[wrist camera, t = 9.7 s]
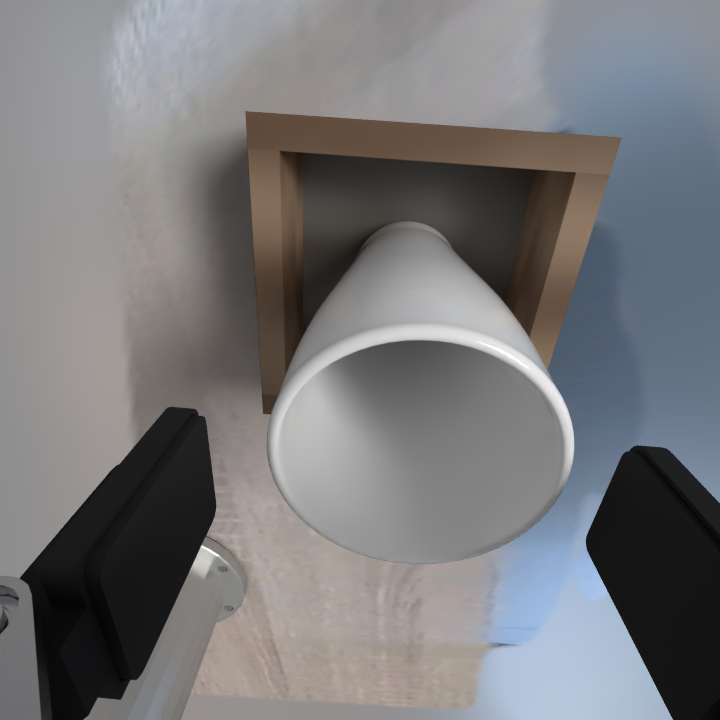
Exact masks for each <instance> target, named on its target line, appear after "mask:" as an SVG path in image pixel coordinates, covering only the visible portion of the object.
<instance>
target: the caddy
mask: <svg viewBox="0 0 720 720" xmlns="http://www.w3.org/2000/svg"><path fill="white" fill-rule="evenodd" d="M246 128H247V145H248V162H249V179H250V196H251V213H252V230H253V247H254V264H255V281H256V298H257V315H258V332H259V349H260V366H261V383H262V400H263V414H271V413H272V410H273V407H274V405H275V403H276V400H277V397H278V394H279V391H280V388H281V386H282V383H283V380H284V378H285V375H286V372H287V370H288V367H289V365H290V363H291V360H292V358H293V356H294V353H295V351H296V349H297V347H298V344H299V342H300V340H301V338H302V336H303V334H304V332H305V331H306V329H307V327H308V325H309V323H310V322H311V320H312V318H313V316H314V315H315V313H316V312H317V310H318V309H319V307H320V306H321V304H322V303H323V302H324V300H325V299H326V297H327V296H328V295H329V293H330V292H331V290H332V289H333V288H334V287H335V285H336V284H337V283H338V281H339V280H340V279H341V277H342V276H343V275H344V274H345V272H346V271H347V270H348V268H349V267H350V266H351V264H352V263H353V262H354V260H355V259H356V257H357V254H358V252H359V250H360V248H361V247H362V245H363V244H364V242H365V241H366V240H367V239H368V238H369V237H370V236H371V235H372V234H373V233H374V232H376V231H377V230H379V229H380V228H382V227H384V226H386V225H389V224H392V223H395V222H401V221H413V222H419V223H423V224H426V225H428V226H430V227H432V228H434V229H436V230H437V231H438V232H440V233H441V234H442V235H443V236H444V237H445V238H446V239H447V240H448V242H449V243H450V245H451V246H452V248H453V250H454V251H455V252H456V253H457V254H458V255H459V256H460V257H461V258H462V259H463V260H464V261H465V262H466V263H467V264H468V265H469V266H470V267H471V268H472V269H473V270H474V271H475V272H476V273H477V274H478V275H479V276H480V277H481V278H482V279H483V280H484V281H485V282H486V283H487V284H488V285H489V286H490V287H491V288H492V289H493V290H494V291H495V292H496V293H497V294H498V296H499V297H500V298H501V299H502V300H503V301H504V303H505V304H506V305H507V306H508V308H509V309H510V310H511V311H512V313H513V314H514V315H515V317H516V318H517V320H518V321H519V322H520V324H521V325H522V327H523V328H524V330H525V332H526V333H527V335H528V336H529V338H530V339H531V341H532V343H533V344H534V346H535V348H536V349H537V351H538V353H539V354H540V356H541V358H542V360H543V362H544V364H545V366H546V368H547V369H548V367H549V364H550V360H551V357H552V354H553V351H554V348H555V345H556V342H557V338H558V335H559V332H560V329H561V326H562V323H563V320H564V316H565V313H566V310H567V307H568V304H569V301H570V298H571V294H572V291H573V288H574V285H575V282H576V279H577V276H578V273H579V269H580V266H581V263H582V260H583V257H584V254H585V251H586V247H587V244H588V241H589V238H590V235H591V232H592V229H593V225H594V222H595V219H596V216H597V213H598V210H599V207H600V203H601V200H602V197H603V194H604V191H605V188H606V185H607V182H608V178H609V175H610V172H611V169H612V166H613V162H614V159H615V156H616V153H617V150H618V147H619V144H620V140H621V138H619V137H604V136H590V135H576V134H562V133H547V132H533V131H519V130H505V129H490V128H476V127H462V126H447V125H433V124H419V123H405V122H390V121H376V120H362V119H347V118H333V117H319V116H305V115H290V114H276V113H262V112H247V111H246Z"/></svg>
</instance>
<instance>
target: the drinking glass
mask: <svg viewBox="0 0 720 720" xmlns="http://www.w3.org/2000/svg"><path fill="white" fill-rule="evenodd" d="M267 455H268V462H269V466H270V470H271V473H272V476H273V479H274V481H275V483H276V485H277V488H278V490H279V492H280V493H281V495H282V496H283V498H284V500H285V501H286V502H287V504H288V505H289V506H290V508H291V509H292V510H293V511H294V512H295V513H296V514H297V516H298V517H299V518H300V519H301V520H303V521H304V522H305V523H306V524H307V525H308V526H309V527H311V528H312V529H313V530H315V531H316V532H317V533H319V534H320V535H322V536H323V537H325V538H326V539H328V540H330V541H332V542H333V543H335V544H337V545H339V546H341V547H343V548H346V549H348V550H350V551H353V552H356V553H358V554H361V555H365V556H368V557H371V558H375V559H380V560H384V561H391V562H397V563H408V564H435V563H445V562H452V561H458V560H463V559H467V558H471V557H475V556H478V555H481V554H484V553H487V552H489V551H492V550H495V549H497V548H499V547H501V546H503V545H505V544H507V543H509V542H511V541H513V540H514V539H516V538H518V537H519V536H521V535H522V534H524V533H525V532H526V531H528V530H529V529H530V528H532V527H533V526H534V525H535V524H536V523H538V522H539V521H540V520H541V519H542V518H543V517H544V516H545V515H546V514H547V512H548V511H549V510H550V509H551V507H552V506H553V505H554V504H555V502H556V501H557V499H558V498H559V496H560V494H561V493H562V491H563V489H564V487H565V485H566V483H567V480H568V477H569V474H570V471H571V467H572V462H573V456H574V433H573V427H572V422H571V418H570V415H569V412H568V409H567V406H566V404H565V402H564V400H563V398H562V396H561V394H560V393H559V391H558V389H557V387H556V385H555V383H554V381H553V379H552V377H551V375H550V373H549V371H548V369H547V368H546V366H545V364H544V362H543V360H542V358H541V356H540V354H539V353H538V351H537V349H536V348H535V346H534V344H533V343H532V341H531V339H530V338H529V336H528V335H527V333H526V332H525V330H524V328H523V327H522V325H521V324H520V322H519V321H518V320H517V318H516V317H515V315H514V314H513V313H512V311H511V310H510V309H509V308H508V306H507V305H506V304H505V303H504V301H503V300H502V299H501V298H500V297H499V296H498V294H497V293H496V292H495V291H494V290H493V289H492V288H491V287H490V286H489V285H488V284H487V283H486V282H485V281H484V280H483V279H482V278H481V277H480V276H479V275H478V274H477V273H476V272H475V271H474V270H473V269H472V268H471V267H470V266H469V265H468V264H467V263H466V262H465V261H464V260H463V259H462V258H461V257H460V256H459V255H458V254H457V253H456V252H455V251H454V250H453V248H452V246H451V245H450V243H449V242H448V240H447V239H446V238H445V237H444V236H443V235H442V234H441V233H440V232H438V231H437V230H436V229H434V228H432V227H430V226H428V225H426V224H423V223H419V222H413V221H401V222H395V223H392V224H389V225H386V226H384V227H382V228H380V229H379V230H377V231H376V232H374V233H373V234H372V235H371V236H370V237H369V238H368V239H367V240H366V241H365V242H364V244H363V245H362V247H361V248H360V250H359V252H358V254H357V257H356V259H355V260H354V262H353V263H352V264H351V266H350V267H349V268H348V270H347V271H346V272H345V274H344V275H343V276H342V277H341V279H340V280H339V281H338V283H337V284H336V285H335V287H334V288H333V289H332V290H331V292H330V293H329V295H328V296H327V297H326V299H325V300H324V302H323V303H322V304H321V306H320V307H319V309H318V310H317V312H316V313H315V315H314V316H313V318H312V320H311V322H310V323H309V325H308V327H307V329H306V331H305V332H304V334H303V336H302V338H301V340H300V342H299V344H298V347H297V349H296V351H295V353H294V356H293V358H292V360H291V363H290V365H289V367H288V370H287V372H286V375H285V378H284V380H283V383H282V386H281V388H280V391H279V394H278V397H277V400H276V403H275V405H274V407H273V410H272V413H271V416H270V420H269V424H268V431H267Z"/></svg>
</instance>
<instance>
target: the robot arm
mask: <svg viewBox="0 0 720 720" xmlns="http://www.w3.org/2000/svg"><path fill="white" fill-rule="evenodd" d="M215 512H216V498H215V490H214V482H213V474H212V466H211V458H210V450H209V442H208V434H207V426H206V420H205V417H203V416H199V415H198V412H197V410H195V409H189V408H177V407H169V408H167V409H166V410H165V411H164V412H163V413H162V414H161V416H160V417H159V418H158V419H157V420H156V422H155V423H154V424H153V425H152V426H151V427H150V429H149V430H148V431H147V432H146V433H145V435H144V436H143V437H142V438H141V439H140V441H139V442H138V443H137V444H136V445H135V447H134V448H133V449H132V450H131V451H130V453H129V454H128V455H127V456H126V457H125V458H124V460H123V461H122V462H121V463H120V464H119V465H117V466H116V467H115V468H113V469H112V470H111V471H110V473H109V474H108V475H107V476H106V477H105V479H104V480H103V481H102V482H101V483H100V484H99V486H98V487H97V488H96V489H95V490H94V491H93V492H92V494H91V495H90V496H89V497H88V498H87V500H86V501H85V502H84V503H83V504H82V506H81V507H80V508H79V509H78V510H77V512H76V513H75V514H74V515H73V516H72V517H71V518H70V520H69V521H68V522H67V523H66V524H65V525H64V527H63V528H62V529H61V530H60V531H59V533H58V534H57V535H56V536H55V537H54V538H53V540H52V541H51V542H50V543H49V544H48V545H47V547H46V548H45V549H44V550H43V551H42V552H41V554H40V555H39V556H38V557H37V558H36V560H35V561H34V562H33V563H32V564H31V565H30V567H29V568H28V569H27V570H26V571H25V572H24V574H23V575H22V576H21V577H20V578H14V577H10V576H0V720H181V718H182V715H183V712H184V710H185V707H186V704H187V701H188V699H189V696H190V693H191V690H192V688H193V685H194V682H195V679H196V677H197V674H198V671H199V668H200V665H201V663H202V660H203V657H204V654H205V652H206V649H207V646H208V643H209V641H210V638H211V635H212V632H213V630H214V627H215V624H216V622H219V621H221V620H224V619H226V618H228V617H230V616H231V615H232V614H234V613H235V612H236V611H237V610H238V608H239V607H240V606H241V604H242V601H243V598H244V595H245V592H246V587H247V583H246V576H245V574H244V571H243V569H242V567H241V566H240V564H239V563H238V561H237V560H236V559H235V557H234V556H233V555H232V554H231V553H230V552H229V551H228V550H226V549H225V548H224V547H222V546H221V545H220V544H218V543H217V542H215V541H213V540H211V539H210V538H208V537H206V535H207V533H208V530H209V528H210V526H211V524H212V522H213V519H214V516H215ZM586 547H587V551H588V553H589V555H590V557H591V559H592V561H593V563H594V565H595V567H596V569H597V571H598V573H599V575H600V577H601V579H602V581H603V583H604V585H605V587H606V589H607V591H608V593H609V595H610V597H611V599H612V600H613V602H614V605H615V606H616V608H617V610H618V612H619V614H620V616H621V618H622V620H623V622H624V624H625V626H626V628H627V630H628V632H629V634H630V636H631V638H632V640H633V642H634V644H635V646H636V648H637V649H638V652H639V654H640V656H641V658H642V660H643V661H644V664H645V666H646V668H647V669H648V671H649V673H650V675H651V677H652V679H653V681H654V683H655V685H656V687H657V689H658V691H659V693H660V695H661V697H662V699H663V701H664V703H665V705H666V707H667V709H668V711H669V713H670V715H671V717H672V718H673V720H720V503H719V502H718V501H717V500H716V499H715V498H714V497H713V496H712V495H711V494H710V493H709V492H708V491H707V490H706V488H704V486H702V485H701V483H700V482H699V481H698V480H697V479H696V478H695V477H694V476H693V475H692V474H691V473H690V472H689V471H688V470H687V469H686V468H685V466H684V465H683V464H682V463H681V462H680V461H679V460H678V459H677V458H676V457H675V456H674V455H673V454H672V453H671V452H670V451H669V450H668V449H666V448H661V447H649V446H634V447H633V448H631V449H630V451H628V452H625V453H624V454H623V455H622V457H621V459H620V461H619V464H618V466H617V468H616V470H615V473H614V475H613V477H612V479H611V482H610V484H609V486H608V489H607V491H606V493H605V495H604V498H603V500H602V502H601V504H600V507H599V509H598V511H597V514H596V516H595V518H594V520H593V523H592V525H591V527H590V529H589V532H588V534H587V537H586Z"/></svg>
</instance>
